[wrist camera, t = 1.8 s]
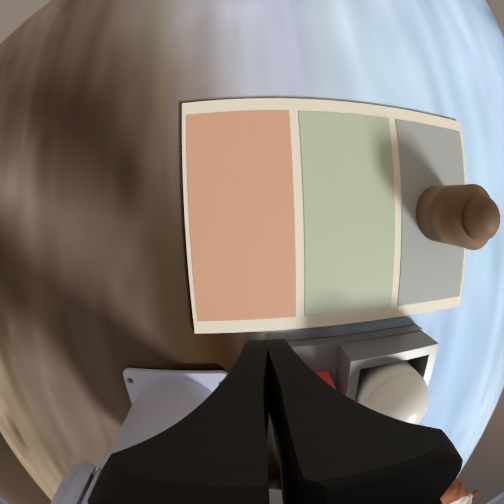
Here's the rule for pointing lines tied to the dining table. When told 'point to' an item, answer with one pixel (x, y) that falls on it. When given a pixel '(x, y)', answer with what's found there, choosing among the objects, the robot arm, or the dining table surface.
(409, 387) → the dome
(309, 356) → the grey open box
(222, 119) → the game board
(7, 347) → the dining table surface
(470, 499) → the bull figurine
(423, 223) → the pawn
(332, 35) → the dining table surface
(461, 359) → the dining table surface
